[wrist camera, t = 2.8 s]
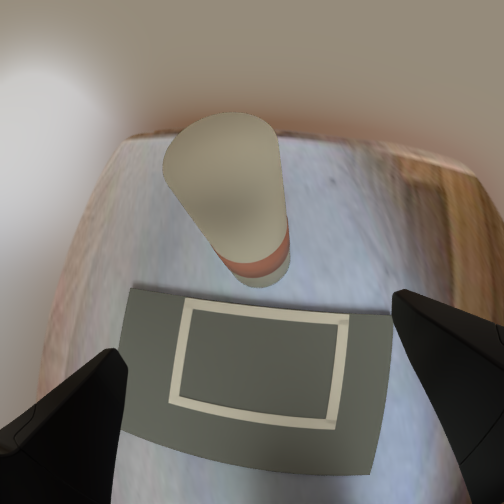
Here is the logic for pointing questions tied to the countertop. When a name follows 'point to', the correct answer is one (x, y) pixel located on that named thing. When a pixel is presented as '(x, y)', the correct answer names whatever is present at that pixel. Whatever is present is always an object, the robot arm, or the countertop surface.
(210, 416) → the mat
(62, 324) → the countertop surface
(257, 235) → the player figure
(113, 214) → the countertop surface
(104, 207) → the countertop surface
